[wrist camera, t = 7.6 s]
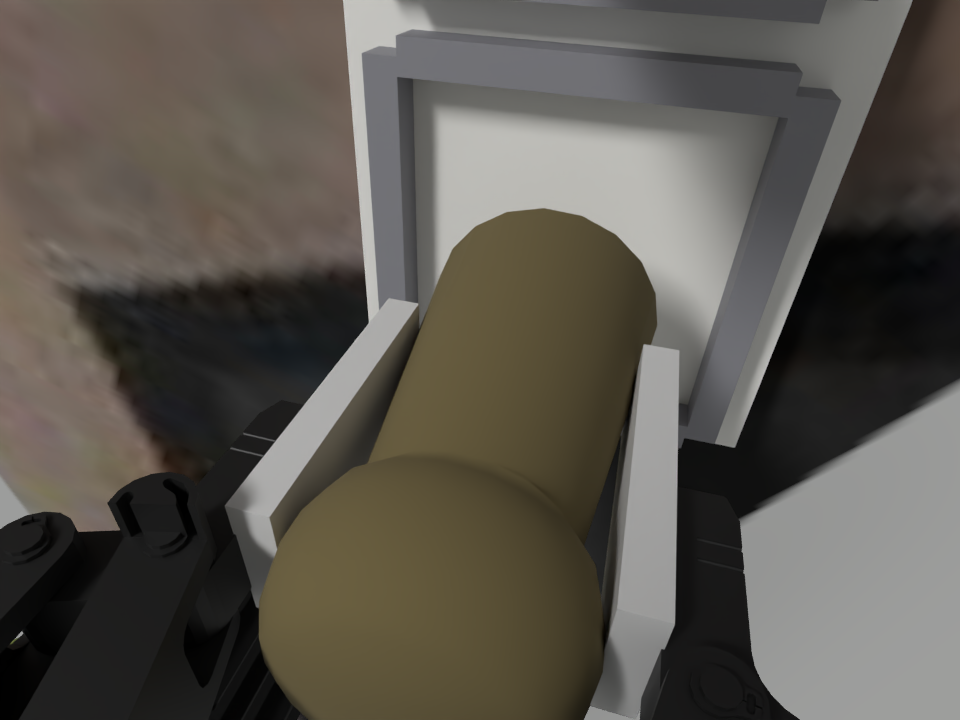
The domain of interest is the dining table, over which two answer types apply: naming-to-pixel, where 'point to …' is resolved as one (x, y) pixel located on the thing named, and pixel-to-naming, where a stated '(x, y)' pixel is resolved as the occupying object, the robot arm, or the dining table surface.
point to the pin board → (621, 150)
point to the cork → (473, 495)
